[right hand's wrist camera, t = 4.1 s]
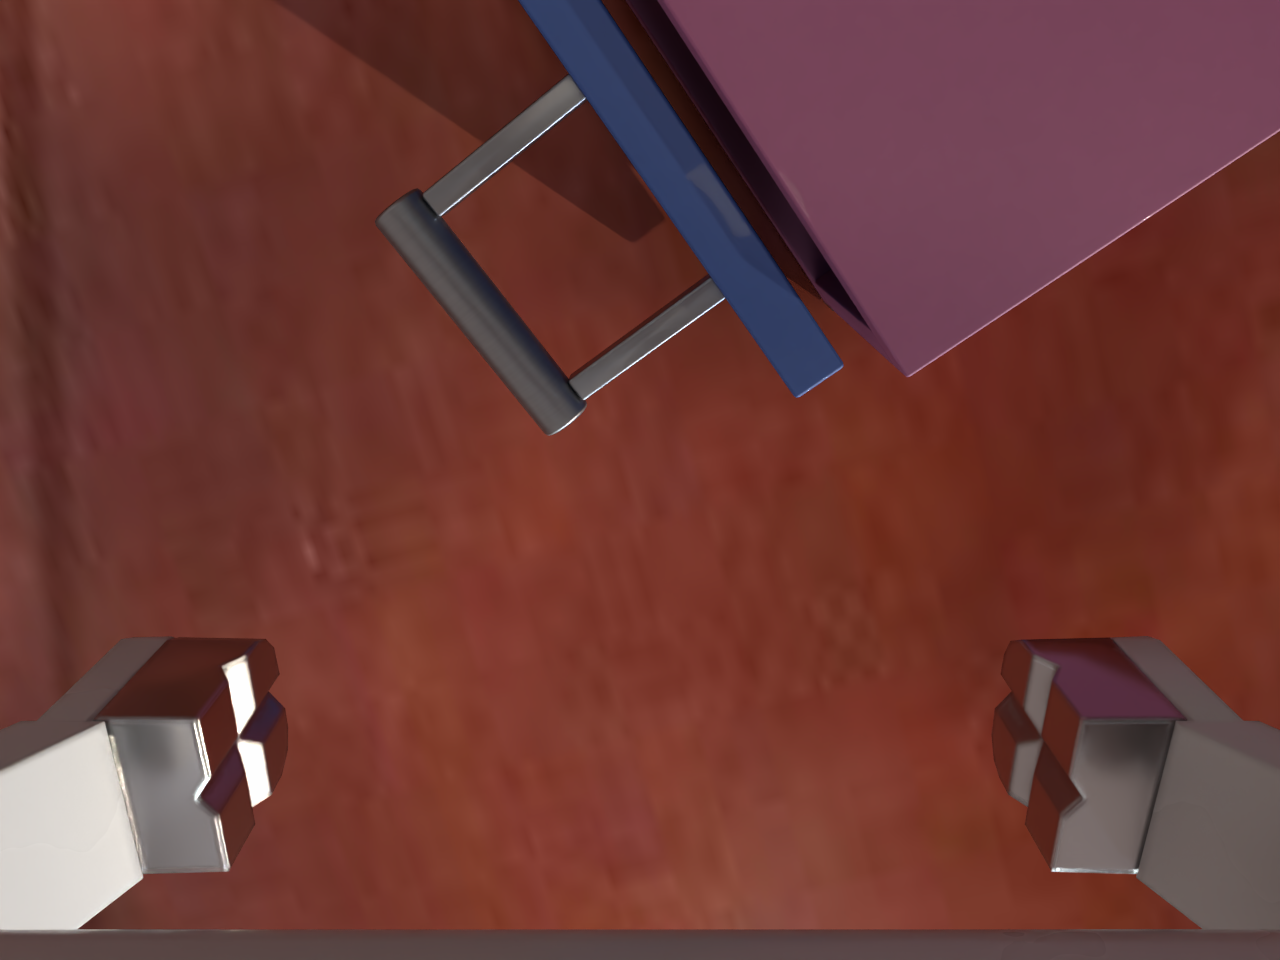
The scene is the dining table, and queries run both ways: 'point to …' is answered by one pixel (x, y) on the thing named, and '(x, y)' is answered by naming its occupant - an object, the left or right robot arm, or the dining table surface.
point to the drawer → (675, 177)
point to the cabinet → (967, 136)
